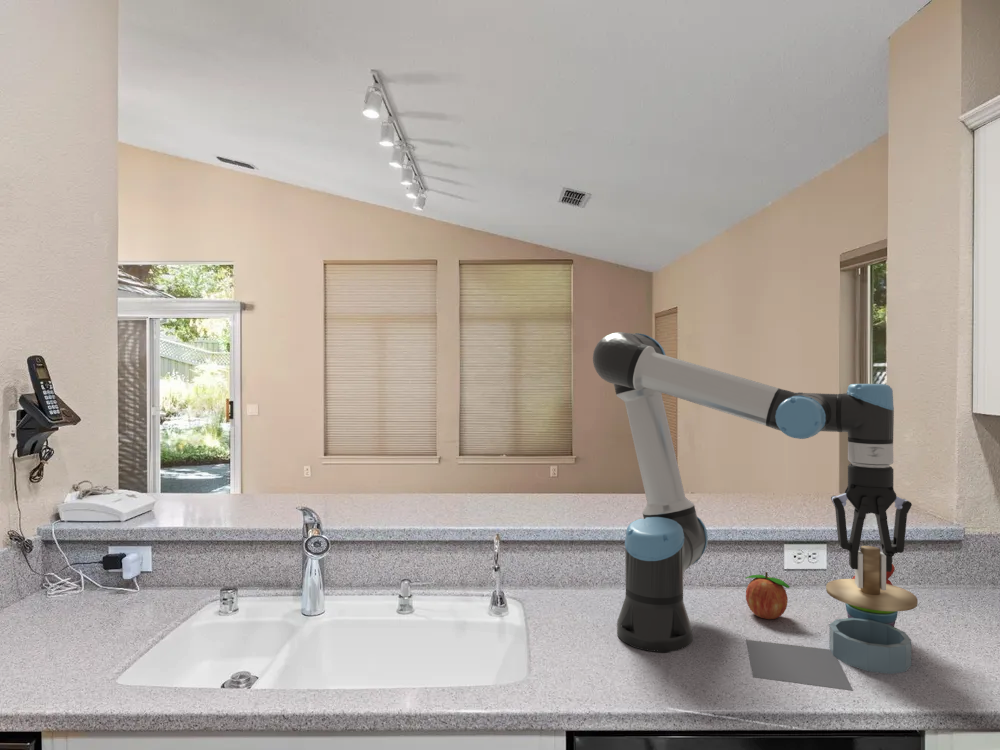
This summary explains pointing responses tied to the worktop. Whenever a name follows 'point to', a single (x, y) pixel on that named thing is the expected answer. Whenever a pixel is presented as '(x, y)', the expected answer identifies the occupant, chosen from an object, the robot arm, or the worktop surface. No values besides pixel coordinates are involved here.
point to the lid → (871, 588)
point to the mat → (796, 664)
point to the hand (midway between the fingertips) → (870, 586)
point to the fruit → (766, 596)
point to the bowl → (870, 645)
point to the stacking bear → (870, 614)
